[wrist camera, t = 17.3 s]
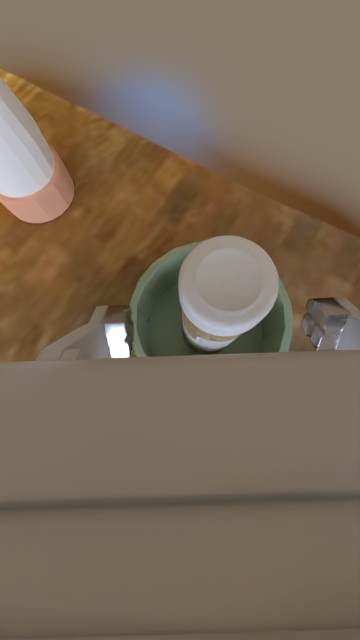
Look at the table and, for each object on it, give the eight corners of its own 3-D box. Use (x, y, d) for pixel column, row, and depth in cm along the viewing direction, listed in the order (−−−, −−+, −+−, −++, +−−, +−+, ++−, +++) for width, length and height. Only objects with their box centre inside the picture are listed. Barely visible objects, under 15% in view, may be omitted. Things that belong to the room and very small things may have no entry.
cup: (124, 372, 25) (104, 369, 19) (165, 259, 27) (159, 223, 21) (248, 413, 24) (269, 425, 18) (279, 293, 26) (309, 266, 20)
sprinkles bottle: (183, 306, 26) (181, 228, 13) (232, 309, 26) (281, 233, 12) (180, 354, 25) (173, 326, 12) (231, 358, 25) (283, 333, 11)
